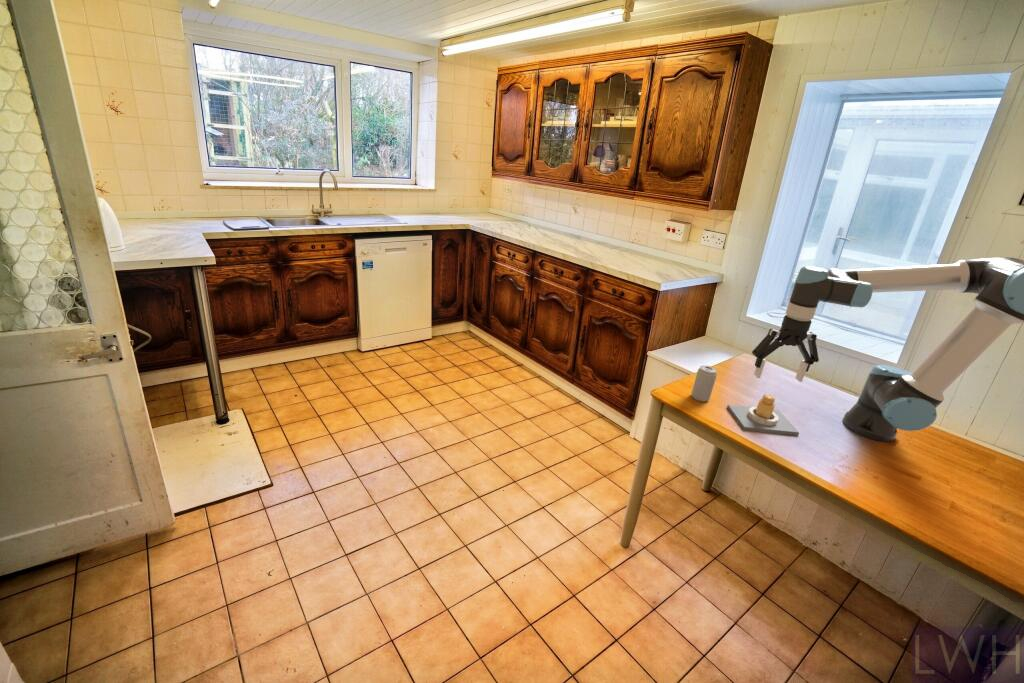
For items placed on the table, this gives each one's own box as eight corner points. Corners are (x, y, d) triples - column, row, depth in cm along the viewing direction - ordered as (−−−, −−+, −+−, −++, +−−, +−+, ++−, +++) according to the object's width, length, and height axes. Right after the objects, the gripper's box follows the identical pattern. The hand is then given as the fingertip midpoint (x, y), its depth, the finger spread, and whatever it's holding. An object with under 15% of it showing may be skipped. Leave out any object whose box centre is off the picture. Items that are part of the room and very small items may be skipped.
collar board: (777, 412, 168) (780, 405, 167) (798, 435, 155) (800, 428, 154) (727, 407, 168) (729, 400, 167) (743, 429, 155) (746, 422, 154)
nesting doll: (765, 414, 163) (772, 394, 160) (772, 422, 159) (779, 401, 156) (751, 413, 163) (758, 393, 160) (757, 421, 159) (765, 400, 156)
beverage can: (710, 397, 173) (719, 368, 169) (706, 404, 168) (716, 374, 164) (693, 391, 176) (701, 362, 172) (688, 398, 171) (697, 368, 167)
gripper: (831, 316, 150) (809, 376, 158) (752, 309, 150) (735, 369, 158) (846, 324, 143) (822, 386, 151) (763, 317, 143) (744, 380, 151)
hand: (777, 378), depth 155 cm, fingers open, 13 cm apart
